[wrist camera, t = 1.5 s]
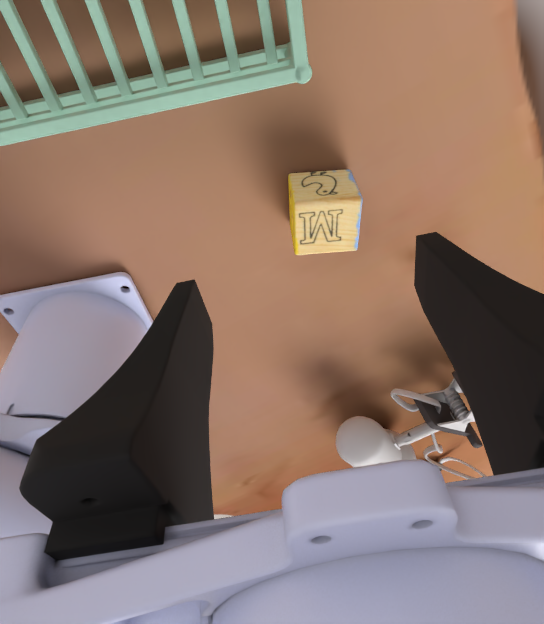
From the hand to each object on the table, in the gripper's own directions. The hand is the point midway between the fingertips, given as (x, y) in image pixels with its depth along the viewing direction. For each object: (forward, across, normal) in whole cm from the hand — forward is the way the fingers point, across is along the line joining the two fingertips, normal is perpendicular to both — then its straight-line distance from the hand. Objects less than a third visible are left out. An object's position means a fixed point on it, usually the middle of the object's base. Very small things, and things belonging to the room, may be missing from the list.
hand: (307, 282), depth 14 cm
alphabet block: (+10, -2, +2) cm, 10 cm away
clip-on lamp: (+10, -7, +25) cm, 28 cm away
